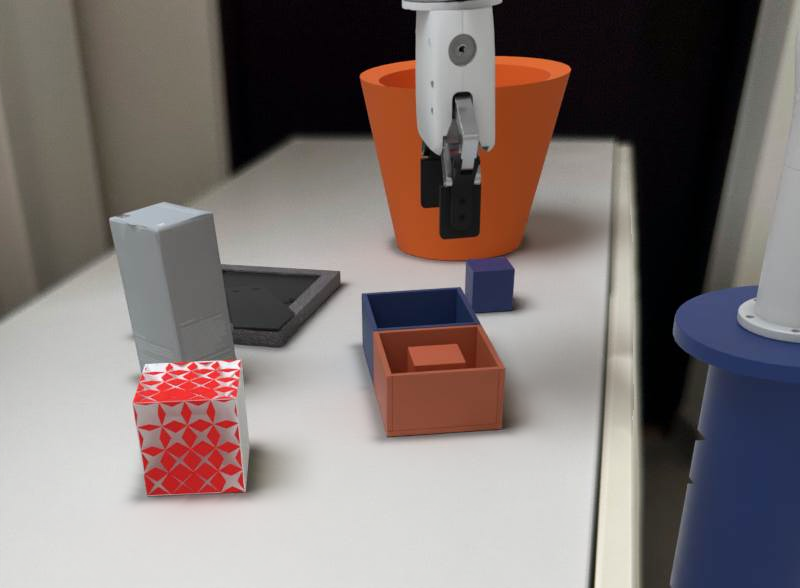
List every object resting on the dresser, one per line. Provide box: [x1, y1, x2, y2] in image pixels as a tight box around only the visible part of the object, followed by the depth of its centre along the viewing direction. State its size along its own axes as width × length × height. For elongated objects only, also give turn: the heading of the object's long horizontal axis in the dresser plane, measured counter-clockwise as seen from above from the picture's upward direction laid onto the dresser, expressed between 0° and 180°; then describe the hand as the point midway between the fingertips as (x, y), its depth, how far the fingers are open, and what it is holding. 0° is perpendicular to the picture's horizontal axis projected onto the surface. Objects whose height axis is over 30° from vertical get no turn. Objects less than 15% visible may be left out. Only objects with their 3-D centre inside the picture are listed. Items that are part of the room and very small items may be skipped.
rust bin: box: [373, 323, 506, 438], centre depth 94 cm, size 10×11×6 cm
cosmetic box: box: [108, 201, 237, 375], centre depth 99 cm, size 8×7×16 cm
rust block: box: [408, 344, 466, 373], centre depth 94 cm, size 4×4×4 cm
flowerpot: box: [359, 55, 572, 261], centre depth 131 cm, size 25×25×20 cm
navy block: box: [464, 256, 516, 314], centre depth 116 cm, size 4×4×4 cm
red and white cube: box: [132, 359, 251, 497], centre depth 85 cm, size 8×8×8 cm
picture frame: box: [221, 263, 342, 348], centre depth 119 cm, size 16×2×21 cm
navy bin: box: [361, 286, 482, 388], centre depth 103 cm, size 10×11×6 cm
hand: (448, 221), depth 88 cm, fingers open, 9 cm apart
